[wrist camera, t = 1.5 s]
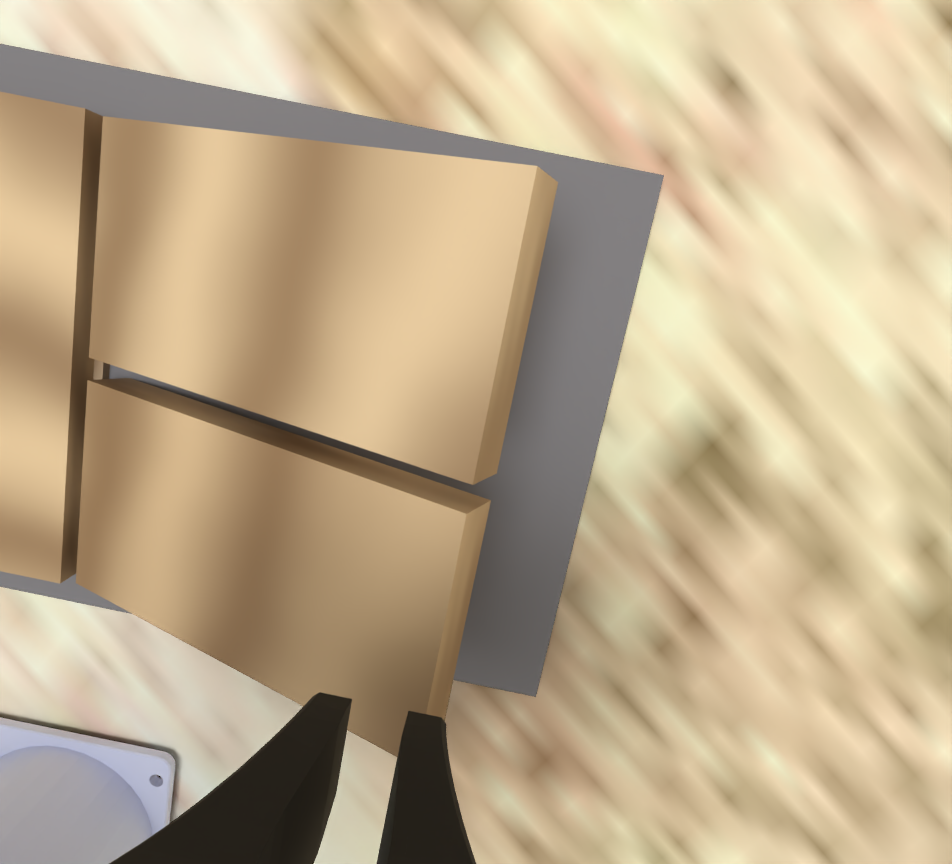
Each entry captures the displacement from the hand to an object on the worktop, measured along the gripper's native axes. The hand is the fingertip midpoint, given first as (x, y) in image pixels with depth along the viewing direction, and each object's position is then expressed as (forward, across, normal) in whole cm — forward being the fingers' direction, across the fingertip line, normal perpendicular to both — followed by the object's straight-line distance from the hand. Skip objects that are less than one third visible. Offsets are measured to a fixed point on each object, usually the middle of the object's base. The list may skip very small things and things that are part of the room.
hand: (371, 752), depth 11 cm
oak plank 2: (+7, +5, 0) cm, 9 cm away
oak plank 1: (+7, +5, -7) cm, 12 cm away
